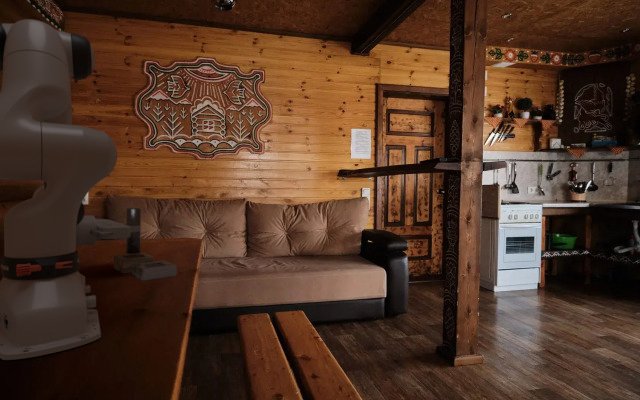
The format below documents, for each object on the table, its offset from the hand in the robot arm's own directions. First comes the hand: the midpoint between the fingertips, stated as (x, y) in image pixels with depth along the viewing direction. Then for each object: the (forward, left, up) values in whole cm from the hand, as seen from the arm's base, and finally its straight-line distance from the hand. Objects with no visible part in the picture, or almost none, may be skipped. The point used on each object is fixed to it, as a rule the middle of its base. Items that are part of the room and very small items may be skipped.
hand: (136, 227), depth 123 cm
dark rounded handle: (0, +1, -8) cm, 8 cm away
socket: (-12, -1, -13) cm, 18 cm away
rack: (0, +1, -13) cm, 13 cm away
